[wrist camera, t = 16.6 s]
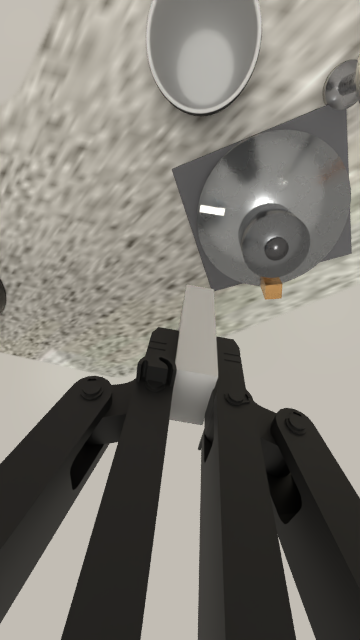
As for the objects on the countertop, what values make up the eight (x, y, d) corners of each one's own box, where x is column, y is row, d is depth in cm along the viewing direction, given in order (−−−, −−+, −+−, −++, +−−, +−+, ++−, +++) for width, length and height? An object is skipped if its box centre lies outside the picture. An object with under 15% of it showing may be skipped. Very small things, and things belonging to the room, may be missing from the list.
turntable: (311, 289, 39) (324, 308, 35) (188, 270, 40) (185, 287, 35) (375, 142, 30) (405, 143, 25) (211, 119, 30) (211, 114, 25)
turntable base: (212, 289, 43) (212, 296, 42) (172, 169, 35) (170, 170, 33) (349, 252, 38) (356, 257, 36) (343, 98, 29) (351, 95, 28)
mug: (247, 114, 31) (261, 104, 23) (170, 127, 32) (156, 122, 24) (247, -50, 25) (266, -150, 16) (151, -25, 26) (122, -105, 18)
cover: (284, 263, 36) (297, 284, 31) (232, 254, 36) (236, 274, 31) (304, 207, 32) (323, 221, 27) (246, 198, 32) (253, 210, 27)
